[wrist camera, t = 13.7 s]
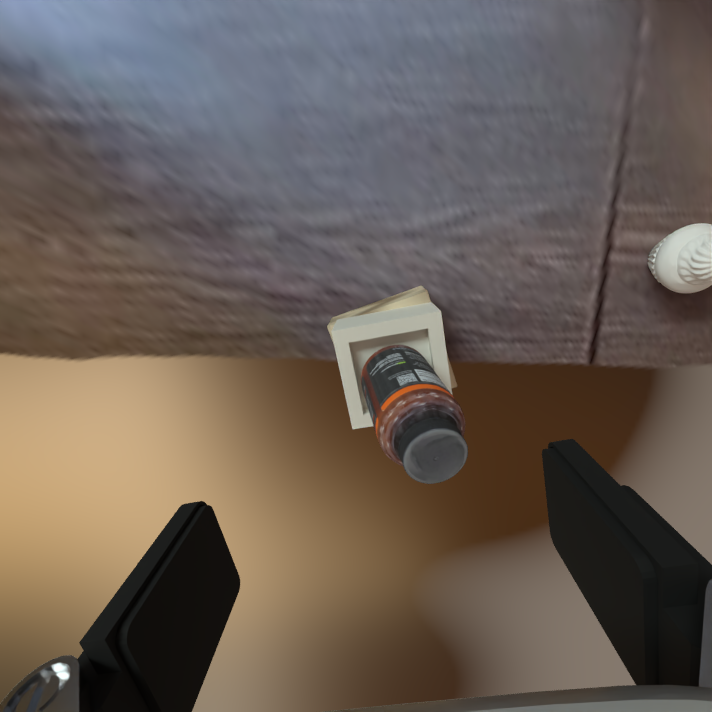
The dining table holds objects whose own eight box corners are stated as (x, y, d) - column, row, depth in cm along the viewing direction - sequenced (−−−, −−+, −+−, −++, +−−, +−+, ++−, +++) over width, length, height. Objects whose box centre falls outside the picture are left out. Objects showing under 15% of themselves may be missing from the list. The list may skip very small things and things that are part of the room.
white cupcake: (631, 294, 39) (685, 304, 32) (631, 232, 37) (688, 230, 30) (696, 282, 38) (765, 290, 31) (698, 219, 36) (772, 213, 30)
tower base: (420, 285, 40) (427, 290, 35) (447, 370, 42) (457, 386, 37) (332, 317, 41) (327, 326, 36) (363, 397, 44) (362, 416, 39)
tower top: (431, 301, 35) (440, 311, 30) (443, 390, 38) (454, 413, 33) (337, 319, 36) (331, 331, 31) (355, 405, 38) (352, 429, 33)
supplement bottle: (390, 415, 34) (428, 513, 24) (345, 375, 32) (364, 464, 22) (441, 372, 33) (503, 455, 23) (397, 327, 31) (443, 396, 20)
